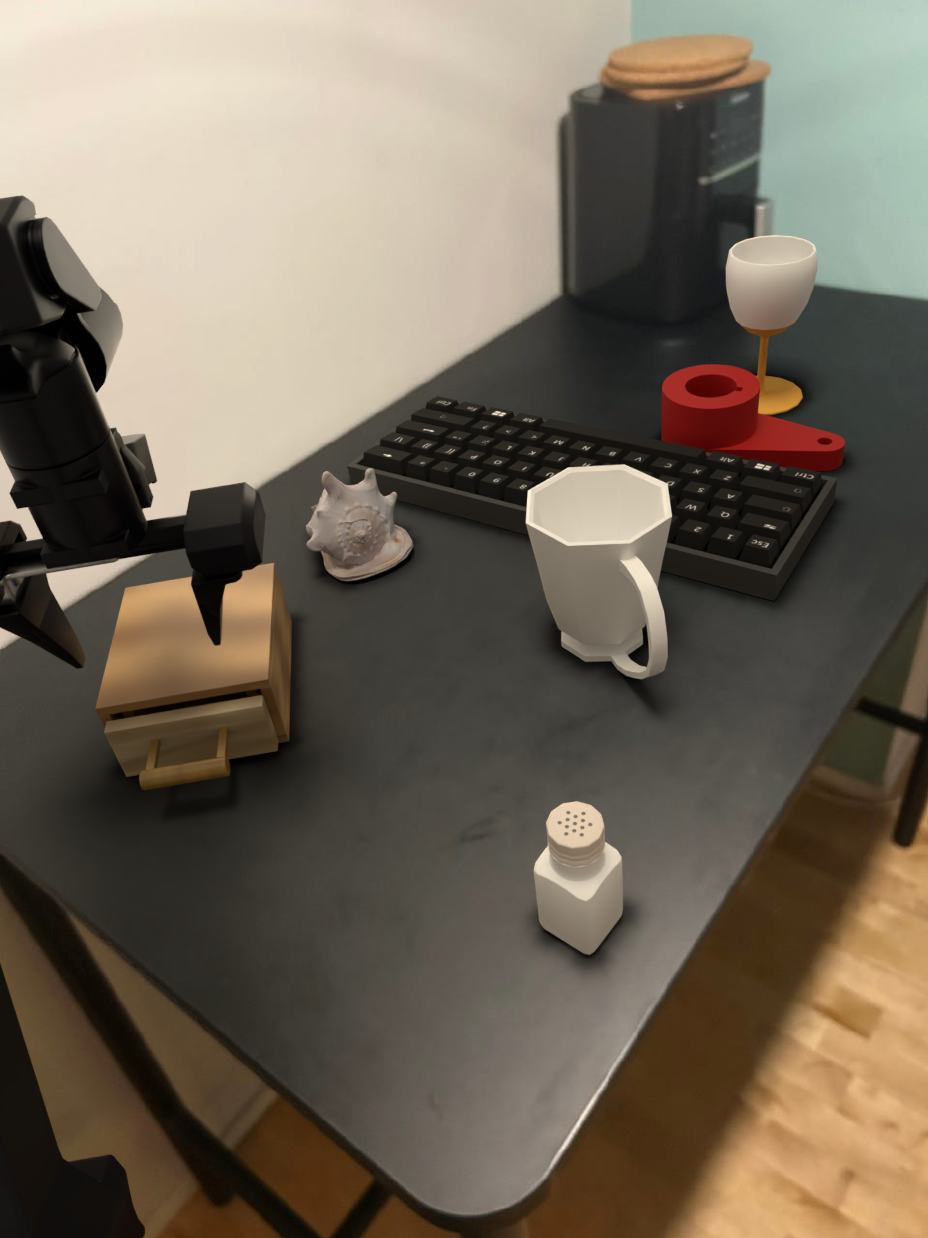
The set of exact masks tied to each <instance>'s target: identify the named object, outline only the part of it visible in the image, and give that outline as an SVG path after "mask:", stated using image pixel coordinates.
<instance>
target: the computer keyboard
mask: <svg viewBox="0 0 928 1238" xmlns="http://www.w3.org/2000/svg"><path fill="white" fill-rule="evenodd" d="M605 465H627V466H629V467H631V468H633V469H636V470H638V471H640V472H642V473H645V474H647V475H649V476H651V477H654V478H656V479H658V480H660V481H663V482H665V483H667V484H668V491H669V498H670V506H671V513H672V519H671V524H670V529H669V534H668V539H667V543H666V547H665V552H664V556H663V561H662V566H661V571H660V572H664V573H667V574H672V575H676V576H679V577H683V578H687V579H690V580H694V581H698V582H701V583H705V584H709V585H712V586H716V587H720V588H724V589H728V590H731V591H735V592H738V593H743V594H746V595H750V596H753V597H757V598H761V599H763V600H764V599H766V600H768V601H772V602H775V601H776V599H777V598H778V595H780V592H781V591H782V589H783V587H784V585H785V584H786V582H787V581H788V579H789V578H790V576H791V574H792V573H793V571H794V569H795V567H796V566H797V564H798V563H799V561H800V559H801V558H802V556H803V555H804V553H805V551H806V550H807V547H808V546H809V545H810V543H811V541H812V539H813V538H814V536H815V535H816V533H817V531H818V530H819V528H820V526H821V525H822V523H823V521H824V520H825V518H826V517H827V515H828V513H829V511H830V510H831V508H832V507H833V505H834V503H835V498H836V497H835V496H836V490H837V483H838V477H833V476H828V475H823V474H822V473H821V471H811V470H806V469H801V468H796V467H791V466H789V467H788V468H784V467H780V466H779V464H776V463H771V462H766V461H761V460H756V459H750V461H749V460H744V459H742V457H741V456H736V455H731V454H725V453H720V452H715V451H714V452H713V453H708V452H705V449H700V448H695V447H690V446H685V445H680V444H675V443H670V442H665V441H661V440H659V439H654V438H649V437H644V436H640V435H635V434H629V433H625V432H620V431H615V430H608V429H604V428H600V427H594V426H589V425H584V424H580V423H579V424H578V423H574V422H569V421H565V420H559V419H553V418H548V419H544V418H543V417H542V416H538V415H533V414H530V413H529V414H528V413H524V412H519V413H514V412H513V410H509V409H503V408H497V407H493V406H491V407H490V408H487V407H486V406H485V405H482V404H478V403H474V402H467V401H463V402H459V401H458V400H457V399H452V398H447V397H443V396H439V395H438V396H435V397H432V398H431V399H429V400H428V401H427V402H426V403H424V404H423V405H422V406H420V407H419V408H418V409H417V410H416V411H414V412H413V413H411V414H410V415H409V416H408V417H407V418H406V419H404V420H403V421H402V422H400V423H399V424H398V425H396V426H395V427H394V428H393V429H392V430H390V431H389V432H388V433H387V434H385V435H384V436H383V437H381V438H380V439H379V440H377V442H374V444H373V445H371V446H370V447H368V448H367V449H366V450H365V451H363V452H362V453H361V454H360V455H359V456H357V457H356V458H355V459H353V461H350V463H349V464H348V465H346V467H347V471H348V476H349V480H350V485H356V484H359V483H360V482H361V481H363V480H364V479H365V472H366V470H367V469H369V468H372V469H373V470H374V472H375V476H376V481H377V486H378V489H379V492H380V493H381V494H382V495H383V496H388V495H390V494H391V493H392V492H396V493H397V499H396V501H400V502H403V503H407V504H411V505H414V506H417V507H422V508H426V509H430V510H432V511H437V512H441V513H444V514H448V515H451V516H456V517H459V518H464V519H466V520H471V521H474V522H478V523H481V524H484V525H485V524H486V525H489V526H493V527H497V528H500V529H504V530H508V531H510V532H514V533H515V532H516V533H519V534H522V535H526V536H529V534H528V530H527V526H526V511H527V497H528V490H530V489H532V488H533V487H535V486H537V485H539V484H540V483H542V482H544V481H546V480H547V479H549V478H551V477H553V476H554V475H556V474H558V473H560V472H561V471H563V470H565V469H567V468H568V467H587V466H605Z"/></svg>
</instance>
